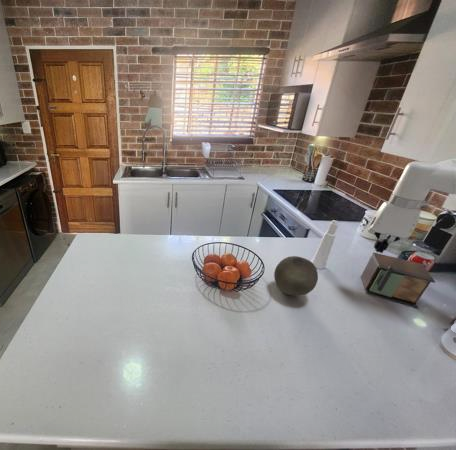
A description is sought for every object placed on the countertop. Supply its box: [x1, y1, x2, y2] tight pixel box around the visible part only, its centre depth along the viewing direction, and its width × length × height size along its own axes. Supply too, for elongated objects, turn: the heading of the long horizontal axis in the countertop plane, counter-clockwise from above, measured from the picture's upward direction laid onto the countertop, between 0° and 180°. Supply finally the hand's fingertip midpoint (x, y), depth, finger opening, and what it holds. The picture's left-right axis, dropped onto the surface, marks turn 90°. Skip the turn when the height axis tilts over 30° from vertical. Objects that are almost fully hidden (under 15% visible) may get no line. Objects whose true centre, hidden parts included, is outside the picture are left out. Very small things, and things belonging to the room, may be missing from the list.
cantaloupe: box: [273, 255, 319, 297], centre depth 90 cm, size 14×14×15 cm
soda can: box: [406, 251, 436, 273], centre depth 101 cm, size 7×7×12 cm
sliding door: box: [370, 266, 404, 297], centre depth 89 cm, size 6×4×13 cm, turn 61°
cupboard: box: [360, 252, 436, 309], centre depth 94 cm, size 15×12×12 cm
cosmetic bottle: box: [310, 219, 340, 270], centre depth 106 cm, size 6×6×22 cm
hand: (378, 250), depth 87 cm, fingers closed
